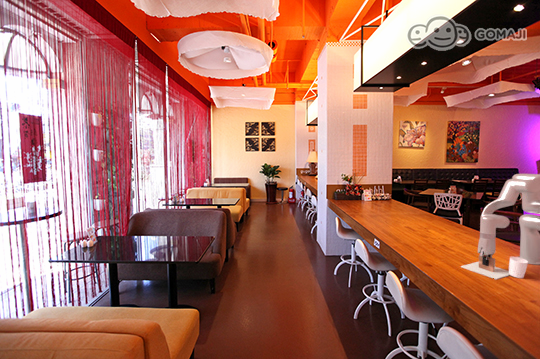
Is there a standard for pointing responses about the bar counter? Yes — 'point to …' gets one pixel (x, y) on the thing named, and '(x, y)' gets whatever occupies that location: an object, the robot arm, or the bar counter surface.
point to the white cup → (517, 267)
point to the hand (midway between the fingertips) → (486, 264)
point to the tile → (490, 266)
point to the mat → (496, 275)
